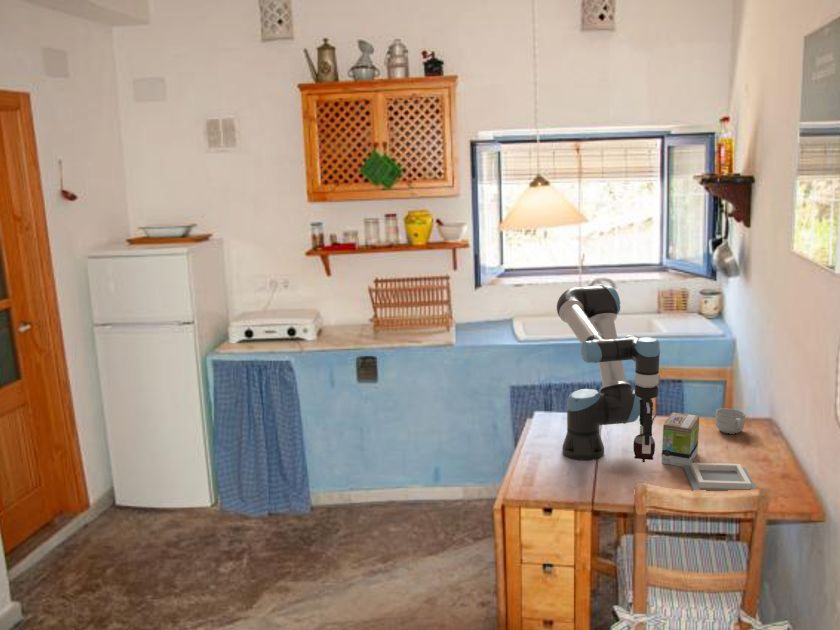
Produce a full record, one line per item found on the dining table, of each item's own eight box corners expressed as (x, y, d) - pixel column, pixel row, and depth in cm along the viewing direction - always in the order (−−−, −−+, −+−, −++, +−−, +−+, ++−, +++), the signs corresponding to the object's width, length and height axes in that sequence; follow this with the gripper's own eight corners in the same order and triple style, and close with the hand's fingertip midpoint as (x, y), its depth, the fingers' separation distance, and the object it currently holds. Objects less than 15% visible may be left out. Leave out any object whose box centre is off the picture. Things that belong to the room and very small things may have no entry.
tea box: (690, 468, 274) (691, 428, 270) (660, 463, 278) (661, 424, 275) (698, 453, 286) (699, 414, 283) (670, 449, 291) (671, 411, 288)
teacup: (712, 426, 312) (713, 407, 310) (740, 426, 310) (741, 407, 309) (720, 439, 299) (721, 419, 297) (750, 439, 297) (751, 419, 295)
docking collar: (693, 493, 254) (694, 484, 254) (683, 468, 274) (684, 460, 273) (759, 495, 251) (759, 486, 250) (744, 469, 270) (744, 461, 270)
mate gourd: (632, 462, 265) (633, 420, 262) (633, 452, 273) (634, 412, 269) (655, 463, 263) (657, 421, 260) (655, 454, 271) (657, 413, 267)
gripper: (662, 394, 251) (660, 460, 256) (654, 375, 270) (652, 437, 276) (638, 393, 253) (636, 460, 258) (632, 374, 272) (630, 437, 277)
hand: (644, 448), depth 267 cm, fingers closed on mate gourd, 7 cm apart
